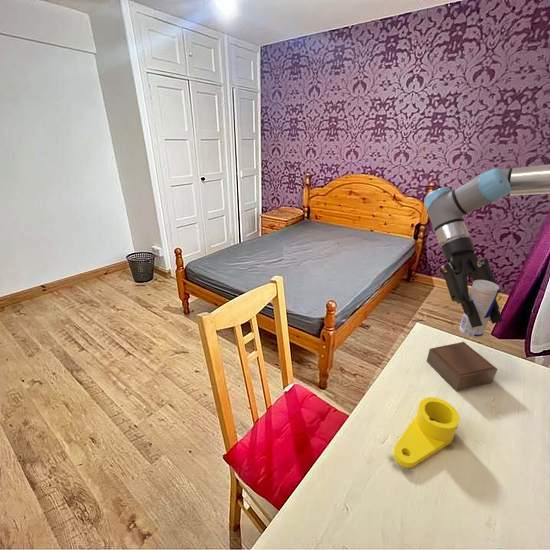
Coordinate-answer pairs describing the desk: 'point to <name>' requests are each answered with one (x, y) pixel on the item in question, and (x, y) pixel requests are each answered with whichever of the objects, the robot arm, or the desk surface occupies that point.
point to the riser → (461, 366)
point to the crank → (427, 432)
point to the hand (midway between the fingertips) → (487, 324)
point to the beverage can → (480, 306)
